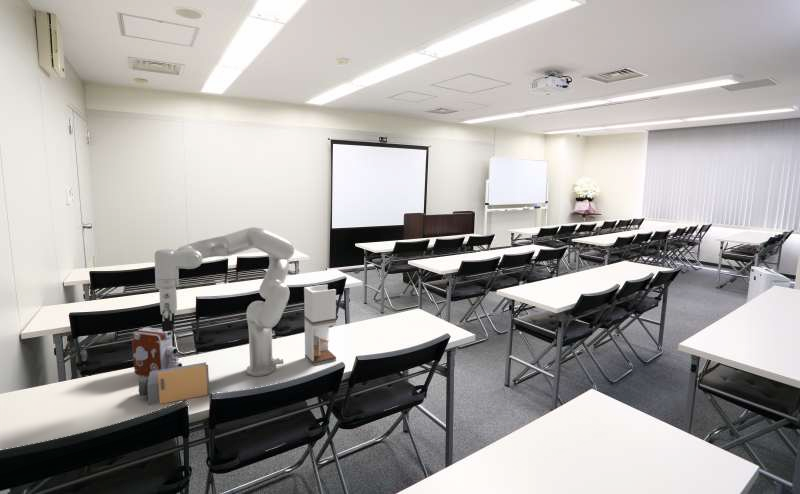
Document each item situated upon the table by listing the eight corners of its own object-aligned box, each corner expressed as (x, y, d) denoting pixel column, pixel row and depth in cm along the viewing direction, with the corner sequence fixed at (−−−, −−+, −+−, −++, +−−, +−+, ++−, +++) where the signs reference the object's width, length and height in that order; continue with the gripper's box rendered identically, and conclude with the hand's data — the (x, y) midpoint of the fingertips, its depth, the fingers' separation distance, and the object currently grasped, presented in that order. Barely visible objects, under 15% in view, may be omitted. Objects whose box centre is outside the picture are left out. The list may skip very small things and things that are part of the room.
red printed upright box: (170, 382, 165) (167, 336, 162) (131, 376, 169) (127, 331, 166) (186, 372, 174) (184, 328, 171) (149, 367, 178) (145, 324, 175)
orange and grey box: (206, 380, 168) (206, 362, 166) (208, 393, 157) (207, 374, 156) (142, 391, 157) (140, 372, 156) (139, 407, 147) (137, 386, 145)
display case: (312, 366, 183) (312, 292, 177) (305, 357, 192) (304, 287, 186) (335, 360, 189) (335, 289, 184) (327, 352, 198) (327, 284, 192)
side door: (209, 393, 157) (208, 364, 155) (209, 395, 155) (208, 366, 154) (160, 402, 149) (157, 372, 148) (159, 405, 148) (157, 374, 146)
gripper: (177, 287, 142) (178, 333, 144) (179, 277, 157) (180, 319, 159) (153, 288, 138) (154, 335, 141) (157, 278, 154) (158, 321, 156)
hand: (168, 326), depth 150 cm, fingers open, 9 cm apart
